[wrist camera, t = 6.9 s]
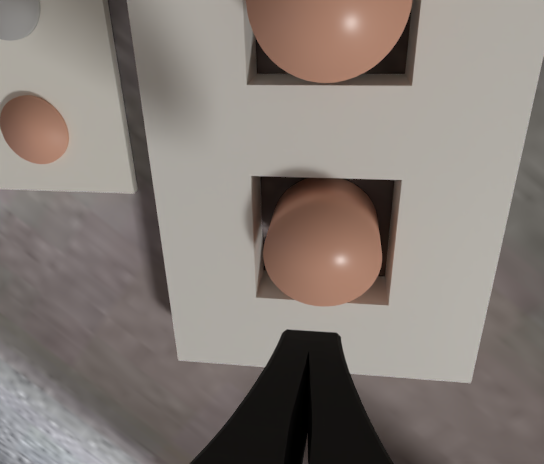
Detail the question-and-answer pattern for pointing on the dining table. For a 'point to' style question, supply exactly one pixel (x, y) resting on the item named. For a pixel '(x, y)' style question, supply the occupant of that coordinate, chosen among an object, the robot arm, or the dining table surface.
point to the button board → (337, 164)
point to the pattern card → (62, 99)
